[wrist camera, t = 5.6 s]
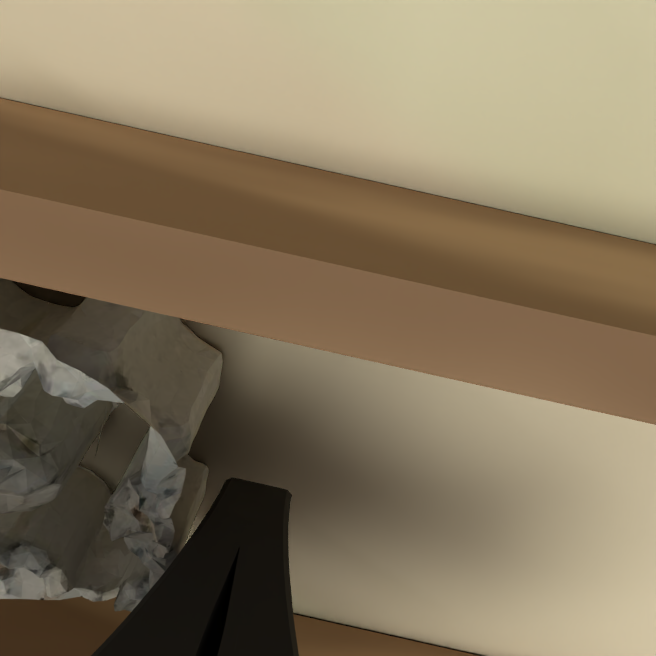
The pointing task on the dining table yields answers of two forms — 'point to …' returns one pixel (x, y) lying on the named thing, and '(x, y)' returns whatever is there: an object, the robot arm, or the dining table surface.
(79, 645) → the bay
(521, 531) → the dining table surface
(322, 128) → the dining table surface
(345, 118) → the dining table surface
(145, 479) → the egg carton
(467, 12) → the dining table surface
